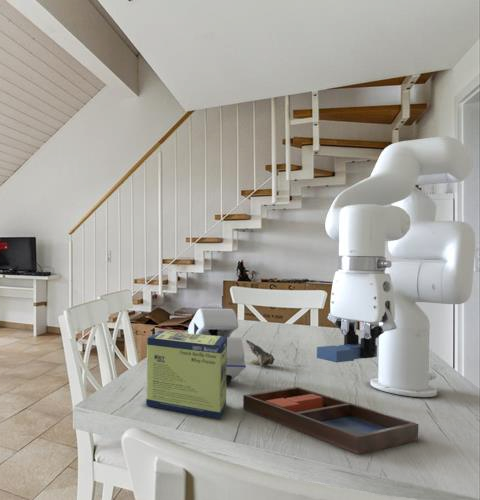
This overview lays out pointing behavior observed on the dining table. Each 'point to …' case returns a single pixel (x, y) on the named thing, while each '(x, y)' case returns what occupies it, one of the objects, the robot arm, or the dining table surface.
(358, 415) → the cutlery tray
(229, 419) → the dining table surface
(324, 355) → the blue tall stepped post
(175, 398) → the protein box
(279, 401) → the orange stepped bar
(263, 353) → the shark head
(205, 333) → the robotic device
